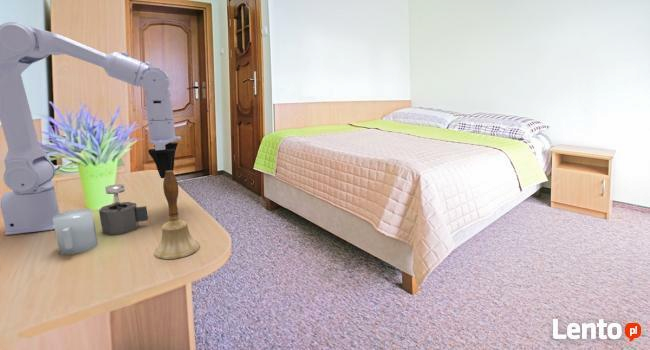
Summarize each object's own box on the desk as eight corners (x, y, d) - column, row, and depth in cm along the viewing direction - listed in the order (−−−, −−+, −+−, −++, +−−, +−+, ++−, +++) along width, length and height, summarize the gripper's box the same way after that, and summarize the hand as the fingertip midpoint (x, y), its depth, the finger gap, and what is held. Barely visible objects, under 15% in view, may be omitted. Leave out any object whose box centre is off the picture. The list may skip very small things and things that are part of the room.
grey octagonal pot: (100, 236, 75) (96, 213, 74) (108, 225, 81) (104, 204, 80) (146, 230, 78) (143, 208, 77) (150, 220, 84) (147, 199, 83)
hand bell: (163, 242, 72) (153, 167, 68) (204, 240, 73) (197, 165, 69) (147, 261, 64) (135, 177, 60) (193, 258, 65) (184, 175, 61)
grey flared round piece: (107, 216, 76) (103, 189, 75) (112, 211, 80) (107, 185, 78) (126, 214, 77) (122, 187, 76) (129, 209, 81) (125, 183, 79)
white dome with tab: (49, 261, 64) (42, 225, 63) (66, 243, 72) (60, 211, 70) (89, 255, 66) (83, 221, 65) (101, 238, 74) (96, 207, 72)
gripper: (176, 121, 79) (182, 179, 82) (180, 116, 92) (186, 167, 95) (141, 122, 76) (149, 182, 80) (151, 117, 90) (157, 169, 93)
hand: (167, 174), depth 87 cm, fingers open, 7 cm apart
